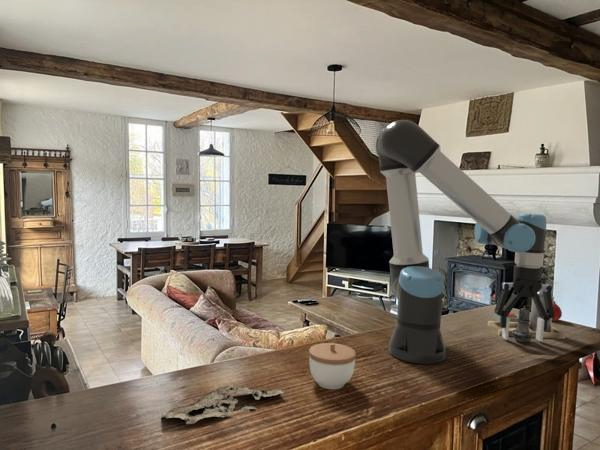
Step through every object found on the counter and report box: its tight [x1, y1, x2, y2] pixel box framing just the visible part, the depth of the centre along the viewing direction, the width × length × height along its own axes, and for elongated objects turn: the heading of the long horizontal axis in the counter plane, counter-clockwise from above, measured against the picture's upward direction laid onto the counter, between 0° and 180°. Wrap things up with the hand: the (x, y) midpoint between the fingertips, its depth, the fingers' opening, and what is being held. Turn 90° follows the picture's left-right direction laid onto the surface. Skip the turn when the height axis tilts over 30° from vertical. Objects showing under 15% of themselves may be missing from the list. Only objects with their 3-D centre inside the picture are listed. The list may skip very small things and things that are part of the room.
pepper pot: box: [529, 289, 555, 332], centre depth 145 cm, size 6×6×14 cm
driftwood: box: [160, 384, 285, 425], centre depth 91 cm, size 25×10×5 cm
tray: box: [487, 320, 566, 340], centre depth 145 cm, size 20×10×2 cm, turn 87°
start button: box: [507, 311, 516, 318], centre depth 157 cm, size 4×4×3 cm
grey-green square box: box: [493, 311, 519, 322], centre depth 157 cm, size 7×7×3 cm
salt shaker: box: [512, 305, 533, 343], centre depth 136 cm, size 6×6×12 cm
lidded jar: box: [308, 342, 357, 390], centre depth 104 cm, size 11×11×9 cm
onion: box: [552, 300, 563, 322], centre depth 160 cm, size 6×6×8 cm
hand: (522, 339), depth 136 cm, fingers open, 9 cm apart
